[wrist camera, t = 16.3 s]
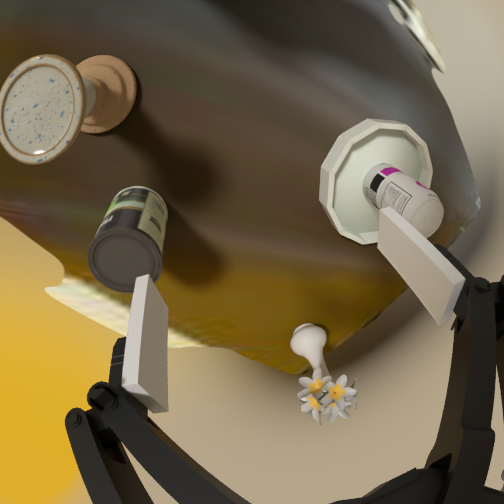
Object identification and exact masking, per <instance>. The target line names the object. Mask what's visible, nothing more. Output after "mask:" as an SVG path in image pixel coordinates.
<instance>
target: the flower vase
mask: <svg viewBox="0 0 504 504" xmlns="http://www.w3.org/2000/svg"><path fill="white" fill-rule="evenodd" d="M326 340H327V335H326V332H325V330H324V329H322V328H321V327H319V326H315V325H314V324H312V323H305V324H302V325H300V326H298V327H297V328H296V329H295V330H294V333H293V336H292V338H291V341H290V346H291V348H292V350H293V351H294V352H295V353H296V354H298V355H300V356H303V357H305V358H306V359H307V360H308V361H309V362H310V364H311V366H312V368H313V370H314V373H313V380H312V379H310V378H307V377H302V378H300V379H299V383H300V384H301V385H302V386H304V387H306V388H308V389H304V390H303V391H301V392H300V393H297V395H298V398H299V399H301V403H302V404H303V405H302V406H301V410H302V411H303V412H307V413H308V415H309V416H310V417H314V418H315V420H317V421H318V422H319V424H320V425H321V418H320V415H321V414H328V413H329V412H330V414H329V416H328V422H333V421H335V420H336V418H337V416H338V413H339V415H340V416H341V417H343V418H346V419H348V418H350V415H349V414H348V413H347V412H346V411H345V410H344V409H349V408H350V407H351V406H350V405H351V404H352V403H353V405H354V406H355V408H356V409H357V404H356V401H355V398H354V397H356V396H357V393H358V392H357V389H355V385H356V379H357V378H355V381H354V382H353V384H352V386H351V387H350V388H343V387H344V386H345V384H346V381H347V377H346V375H342V376H340V377H339V379H338V380H337V382H336V384H335V383H334V381H333V380H332V378H331V376H330V374H329V372H328V369H327V366H326V364H325V361H324V358H323V348H324V346H325V344H326ZM343 397H347V398H343ZM321 398H323V399H322V403H321V404H320V402H319V400H320V399H321ZM302 400H303V401H302ZM347 400H350V401H351V402H348V401H347ZM305 401H306V402H305ZM307 401H308V402H307ZM323 404H325V405H326V404H328V405H327V407H326V408H325V409H324V408H323V407H322V405H323Z"/></svg>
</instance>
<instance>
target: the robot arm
mask: <svg viewBox="0 0 504 504" xmlns="http://www.w3.org/2000/svg"><path fill="white" fill-rule="evenodd" d="M377 248H378V249H379V250H380V251H381V253H382V254H383V255H384V256H385V257H386V259H387V260H388V261H389V262H390V263H391V264H392V266H393V267H394V268H395V269H396V270H397V272H398V273H399V274H400V275H401V277H402V278H403V279H404V280H405V282H406V283H407V284H408V285H409V287H410V288H411V289H412V290H413V291H414V293H415V294H416V295H417V297H418V298H419V299H420V300H421V302H422V303H423V304H424V306H425V307H426V309H427V310H428V311H429V313H430V314H431V315H432V316H433V318H434V319H435V321H436V322H437V323H438V325H440V324H442V323H443V322H445V321H447V320H449V319H450V317H451V315H452V313H453V311H454V313H455V314H456V315H457V316H456V318H455V320H454V323H453V325H452V328H451V330H453V328H454V326H455V329H454V330H455V331H454V342H453V353H452V361H451V369H450V377H449V383H448V389H447V395H446V400H445V405H444V410H443V415H442V419H441V423H440V428H439V432H438V435H437V439H436V442H435V445H434V447H433V449H432V450H431V452H430V454H429V456H428V459H427V462H426V464H425V467H424V468H423V469H416V468H414V469H412V470H410V471H408V472H406V473H404V474H402V475H400V476H398V477H396V478H394V479H392V480H390V481H388V482H385V483H383V484H381V485H379V486H378V487H376V488H375V489H373V490H372V491H371V492H369V493H368V494H366V495H365V496H363V497H362V498H355V499H348V500H341V501H336V502H333V503H330V504H504V486H503V488H502V490H501V491H499V490H496V489H492V488H489V487H486V486H484V485H485V481H486V477H487V474H488V470H489V466H490V461H491V457H492V452H493V447H494V442H495V432H494V431H493V430H492V429H491V420H492V413H493V403H494V393H495V380H496V365H497V371H498V377H499V383H500V390H501V398H502V408H503V419H504V275H503V276H502V278H501V280H500V282H493V283H489V281H487V280H486V279H484V278H481V277H476V278H475V277H474V276H473V275H472V274H471V273H470V272H468V270H467V269H466V268H465V267H464V266H463V265H462V264H461V263H460V262H459V261H457V259H456V258H455V257H454V256H452V254H451V253H450V252H449V251H448V250H447V249H446V248H444V247H442V246H441V245H439V244H435V245H432V244H431V243H430V242H429V241H428V240H427V239H426V238H425V237H424V236H423V235H422V234H421V233H420V232H418V231H417V230H416V229H415V228H414V227H413V226H412V225H411V224H410V223H409V222H407V221H406V220H405V219H404V218H403V217H402V216H401V215H400V214H398V213H397V212H396V211H395V210H394V209H393V208H391V207H386V208H382V209H379V231H378V247H377ZM167 338H168V307H167V306H166V304H165V302H164V300H163V299H162V297H161V295H160V293H159V292H158V290H157V288H156V286H155V284H154V283H153V281H152V279H151V277H150V275H149V274H147V275H144V276H140V277H137V278H136V282H135V288H134V293H133V299H132V305H131V311H130V317H129V324H128V331H127V337H123V338H118V339H117V341H116V343H115V345H114V347H113V353H112V360H111V367H110V375H109V383H107V382H102V381H101V382H98V383H96V384H94V385H93V386H92V387H91V388H90V390H89V392H88V394H87V401H88V404H89V405H90V406H91V407H92V409H90V410H87V411H84V410H82V409H81V408H73V409H71V410H70V411H69V412H68V414H67V416H66V418H65V426H66V430H67V434H68V437H69V441H70V444H71V447H72V450H73V453H74V456H75V459H76V462H77V465H78V468H79V470H80V473H81V476H82V479H83V481H84V484H85V486H86V488H87V491H88V493H89V496H90V498H91V500H92V502H93V504H154V503H153V501H152V500H151V498H150V496H149V495H148V493H147V491H146V490H145V488H144V486H143V484H142V482H141V481H140V479H139V477H138V475H137V473H136V471H135V470H134V467H133V466H132V464H131V462H130V460H129V458H128V456H127V454H126V452H125V449H124V447H123V445H122V443H123V444H124V445H125V446H126V448H127V449H128V450H129V451H130V453H131V454H132V455H133V456H134V457H135V458H136V460H137V461H138V462H139V463H140V464H141V465H142V466H143V468H144V469H145V470H146V471H147V472H148V473H149V474H150V475H151V476H152V477H153V478H154V479H155V480H156V481H157V483H159V484H160V485H161V487H162V488H163V489H165V491H166V492H168V494H170V495H171V496H172V497H173V498H174V499H175V500H176V501H177V502H178V503H179V504H251V503H249V502H248V501H247V500H245V499H244V498H242V497H241V496H239V495H238V494H237V493H235V492H234V491H232V490H231V489H230V488H228V487H227V486H226V485H224V484H223V483H222V482H220V481H219V480H218V479H217V478H215V477H214V476H213V475H212V474H210V473H209V472H208V471H207V470H205V469H204V468H203V467H202V466H200V465H199V464H198V463H197V462H196V461H195V460H194V459H192V458H191V457H190V456H189V455H188V454H187V453H186V452H185V451H183V450H182V449H181V448H180V447H179V446H178V445H177V444H176V443H175V442H174V441H173V440H171V439H170V438H169V437H168V436H167V435H166V434H165V433H164V432H163V431H162V430H161V429H160V428H159V427H158V426H157V425H156V424H155V423H154V422H153V421H152V420H151V419H150V418H149V417H148V412H147V411H148V409H149V410H150V411H151V412H152V413H161V412H168V384H167V383H168V381H167V380H168V379H167ZM121 442H122V443H121ZM501 478H502V480H503V481H504V470H503V472H502V475H501Z"/></svg>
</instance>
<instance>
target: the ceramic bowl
mask: <svg viewBox="0 0 504 504" xmlns="http://www.w3.org/2000/svg"><path fill="white" fill-rule="evenodd" d="M379 163H387V164H390V165H392V166H394V167H395V168H397V169H399V170H400V171H402V172H403V173H405V174H407V175H408V176H410V177H412V178H413V179H415V180H416V181H418V182H419V183H421V184H422V185H424V186H425V187H427V188H429V189H430V184H431V179H432V174H433V169H432V164H431V160H430V156H429V152H428V148H427V144H426V143H425V142H424V141H423V140H422V139H421V138H420V137H419V136H418V135H417V134H416V133H415V132H414V131H413V130H412V129H411V128H410V127H409V126H408V125H406V124H403V123H400V122H397V121H391V120H380V119H366V120H364V121H363V122H361V123H359V124H357V125H356V126H354V127H352V128H351V129H349V130H347V131H346V132H344V133H342V134H341V135H339V137H338V138H337V140H336V142H335V143H334V145H333V147H332V148H331V150H330V152H329V154H328V155H327V157H326V159H325V160H324V162H323V164H322V165H321V175H320V192H319V201H320V203H321V205H322V207H323V208H324V210H325V212H326V214H327V216H328V218H329V220H330V222H331V223H332V225H333V226H334V228H335V229H336V230H337V231H338V232H339V234H341V235H343V236H345V237H347V238H350V239H352V240H354V241H356V242H358V243H360V244H362V245H363V244H369V243H376V242H378V231H379V209H378V208H376V207H375V206H374V205H373V204H372V203H371V202H369V201H368V200H367V199H366V197H365V196H364V194H363V188H362V186H363V180H364V178H365V175H366V173H367V172H368V171H369V170H370V169H371V167H373V166H375V165H376V164H379Z"/></svg>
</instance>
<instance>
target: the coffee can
mask: <svg viewBox="0 0 504 504" xmlns="http://www.w3.org/2000/svg"><path fill="white" fill-rule="evenodd" d="M167 218H168V210H167V206H166V204H165V202H164V200H163V199H162V197H161V196H160V195H159V194H158V193H156V192H155V191H153V190H152V189H150V188H147V187H143V186H132V187H128V188H125V189H124V190H122V191H120V192H119V193H118V194H117V195H116V196H115V198H114V199H113V201H112V203H111V206H110V208H109V209H108V211H107V213H106V215H105V217H104V219H103V221H102V223H101V225H100V227H99V229H98V231H97V233H96V235H95V237H94V238H93V240H92V242H91V243H90V245H89V248H88V252H87V261H88V265H89V268H90V270H91V272H92V274H93V275H94V277H95V278H96V279H97V280H98V281H99V282H100V283H101V284H103V285H104V286H106V287H108V288H109V289H112V290H114V291H117V292H122V293H134V288H135V282H136V278H137V277H140V276H144V275H147V274H149V275H150V277H151V279H152V281H153V283H154V284H155V283H156V282H157V280H158V279H159V277H160V275H161V273H162V268H163V258H162V257H163V247H164V239H165V230H166V222H167Z"/></svg>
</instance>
